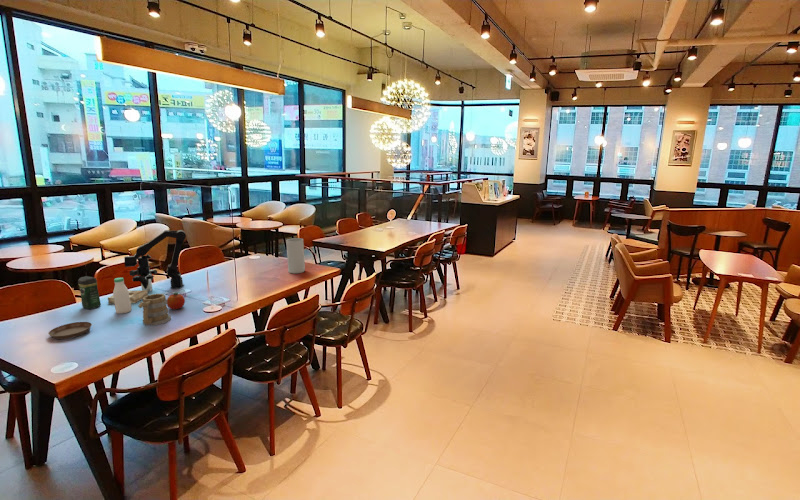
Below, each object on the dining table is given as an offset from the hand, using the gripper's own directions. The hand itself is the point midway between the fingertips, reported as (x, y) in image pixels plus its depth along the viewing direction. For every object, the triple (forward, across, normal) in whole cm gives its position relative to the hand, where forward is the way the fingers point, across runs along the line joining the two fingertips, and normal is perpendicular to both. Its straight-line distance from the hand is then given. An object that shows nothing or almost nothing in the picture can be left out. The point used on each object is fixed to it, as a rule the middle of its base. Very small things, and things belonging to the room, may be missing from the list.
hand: (147, 287), depth 285 cm
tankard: (+2, +56, +35) cm, 66 cm away
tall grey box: (+2, 0, 0) cm, 2 cm away
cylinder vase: (+2, -45, +89) cm, 100 cm away
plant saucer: (+2, +68, 0) cm, 68 cm away
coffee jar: (+2, +30, -16) cm, 34 cm away
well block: (+2, +17, -2) cm, 17 cm away
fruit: (+2, +33, +36) cm, 49 cm away
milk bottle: (+2, +38, +8) cm, 39 cm away
